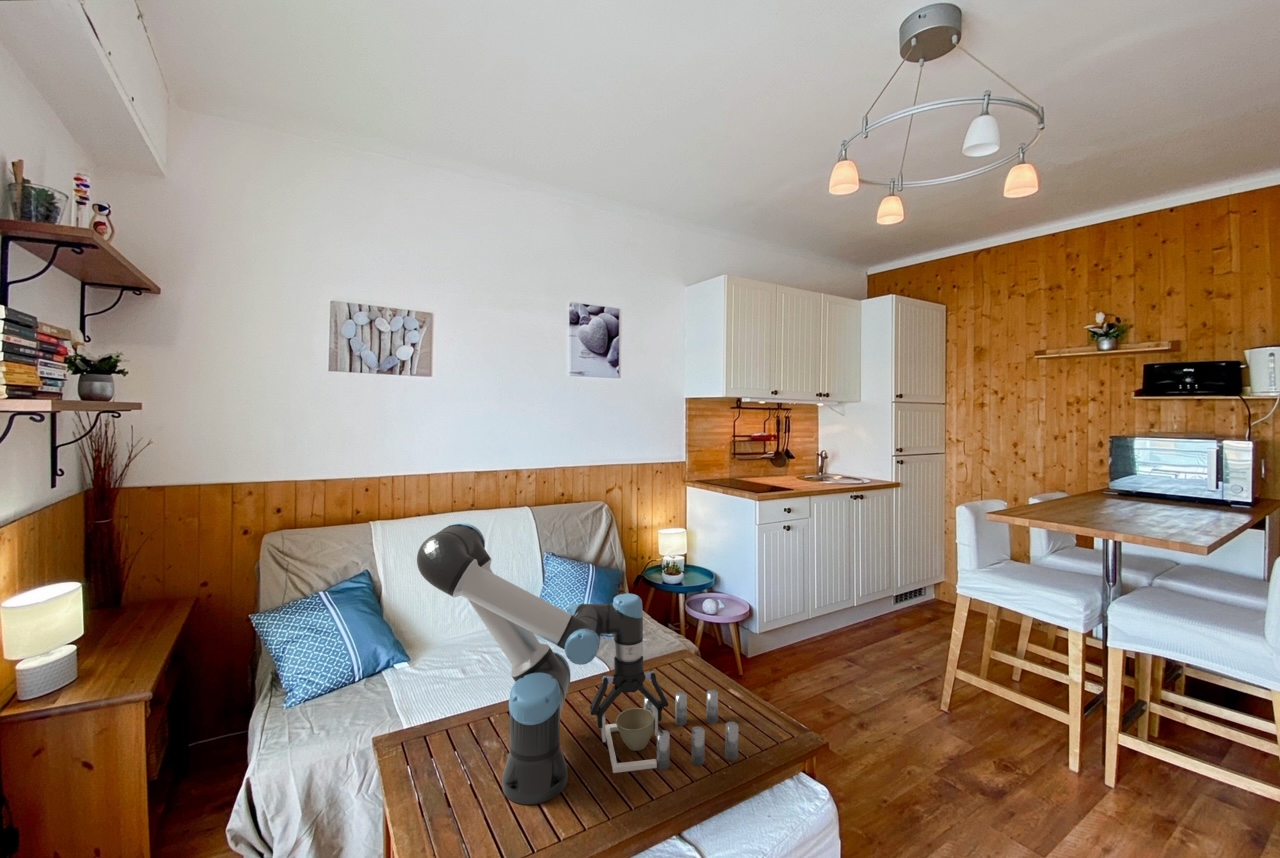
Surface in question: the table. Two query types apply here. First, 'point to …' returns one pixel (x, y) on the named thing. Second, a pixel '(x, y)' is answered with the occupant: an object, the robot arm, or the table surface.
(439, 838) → the table surface
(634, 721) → the flower pot
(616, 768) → the frame
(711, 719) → the spacers
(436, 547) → the robot arm
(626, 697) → the table surface
